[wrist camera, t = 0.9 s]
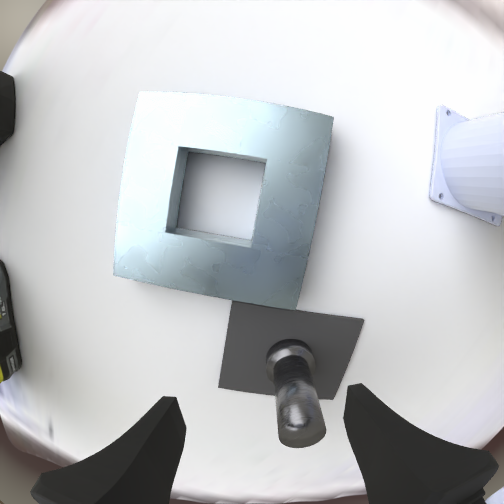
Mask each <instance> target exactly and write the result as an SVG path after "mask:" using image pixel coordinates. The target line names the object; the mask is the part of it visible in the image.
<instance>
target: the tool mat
mask: <svg viewBox="0 0 504 504" xmlns="http://www.w3.org/2000/svg"><path fill="white" fill-rule="evenodd" d="M363 322H364V320H363V319H361V318H352V317H344V316H336V315H328V314H320V313H313V312H306V311H299V310H290V309H283V308H277V307H270V306H264V305H258V304H252V303H246V302H240V301H235V300H232V305H231V311H230V317H229V323H228V329H227V336H226V342H225V348H224V354H223V360H222V367H221V373H220V379H219V386H218V388H224V389H229V390H236V391H242V392H249V393H257V394H265V395H274V396H275V385H274V384H273V383H272V382H271V381H270V380H269V378H268V376H267V373H266V355H267V352H268V350H269V349H270V348H271V347H272V346H273V345H274V344H275V343H277V342H279V341H281V340H285V339H298V340H301V341H303V342H305V343H306V344H307V345H308V346H309V347H310V349H311V351H312V354H313V357H314V360H315V364H316V369H315V372H314V375H313V376H312V378H313V382H314V386H315V389H316V393H317V397H318V399H330V400H333V399H334V397H335V394H336V392H337V390H338V388H339V385H340V383H341V381H342V378H343V376H344V373H345V371H346V368H347V366H348V363H349V361H350V358H351V356H352V353H353V350H354V348H355V345H356V342H357V340H358V337H359V334H360V331H361V328H362V325H363Z"/></svg>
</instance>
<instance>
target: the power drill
mask: <svg viewBox="0 0 504 504" xmlns="http://www.w3.org/2000/svg"><path fill="white" fill-rule="evenodd" d="M21 362H22V361H21V356H20V352H19V347H18V342H17V336H16V331H15V325H14V318H13V311H12V304H11V295H10V287H9V280H8V275H7V272H6V269H5V266H4V264H3V262H2V261H1V260H0V383H1V382H2V381H5V380H8V379H9V378H10V377H11V376H12V374H13V373H14V372H15V371H17V370H18V369H20V367H21Z"/></svg>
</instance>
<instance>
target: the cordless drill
mask: <svg viewBox="0 0 504 504" xmlns="http://www.w3.org/2000/svg"><path fill="white" fill-rule="evenodd" d="M14 117H15V94H14V83H13V77H12V76H10V75H8V74H6V73H4V72H2V71H0V145H1V144H2V143H4V141H5V140H7V139H8V138H9V137H10V136H11V135H12V133H13V127H14Z"/></svg>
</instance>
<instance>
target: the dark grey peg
mask: <svg viewBox="0 0 504 504" xmlns="http://www.w3.org/2000/svg"><path fill="white" fill-rule="evenodd" d="M315 369H316V364H315V360H314V357H313V354H312V351H311V349H310V347H309V346H308V345H307V344H306V343H305V342H303V341H301V340H298V339H285V340H281V341H279V342H277V343H275V344H274V345H273V346H272V347H271V348H270V349H269V350H268V352H267V355H266V373H267V376H268V378H269V380H270V381H271V382H272V383H273V384H274V385H275V397H276V409H277V422H278V434H279V440H280V442H281V443H282V444H284V445H285V446H288V447H292V448H304V447H308V446H311V445H314V444H316V443H317V442H319V441H320V440H321V439H322V438H323V437H324V436H325V434H326V426H325V423H324V419H323V415H322V411H321V408H320V404H319V400H318V397H317V393H316V389H315V386H314V382H313V378H312V376H313V375H314V372H315Z"/></svg>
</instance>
